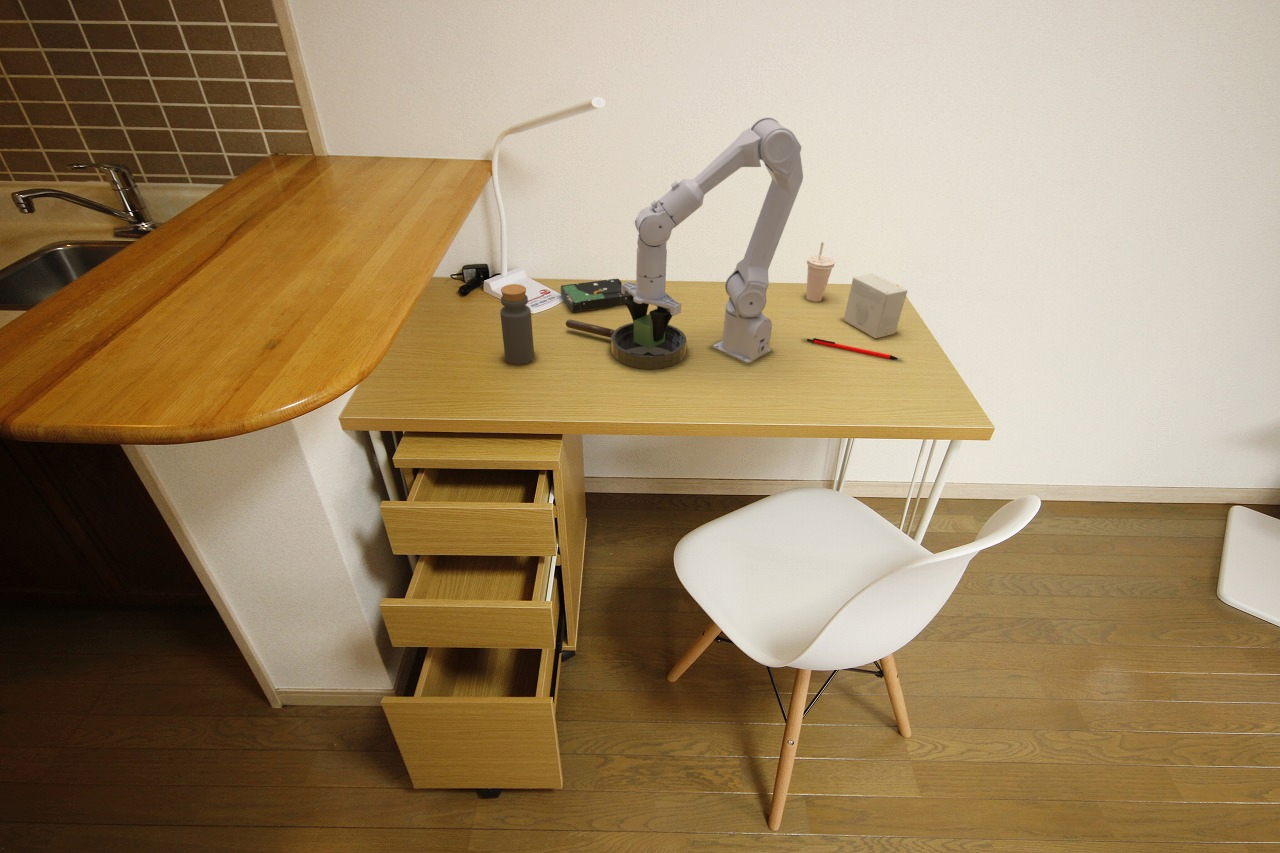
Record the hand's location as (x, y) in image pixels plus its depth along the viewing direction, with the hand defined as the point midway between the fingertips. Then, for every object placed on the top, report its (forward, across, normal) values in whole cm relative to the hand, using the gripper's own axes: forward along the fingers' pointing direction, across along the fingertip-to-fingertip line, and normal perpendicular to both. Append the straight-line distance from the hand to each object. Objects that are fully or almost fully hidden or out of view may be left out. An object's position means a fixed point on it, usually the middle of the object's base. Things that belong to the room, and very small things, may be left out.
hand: (649, 335), depth 134 cm
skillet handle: (+2, -13, -5) cm, 14 cm away
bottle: (+4, -16, -21) cm, 27 cm away
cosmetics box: (+4, +26, +45) cm, 52 cm away
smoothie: (+4, +9, +49) cm, 50 cm away
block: (+1, 0, 0) cm, 1 cm away
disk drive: (+4, -26, +9) cm, 28 cm away
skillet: (+4, 0, 0) cm, 4 cm away
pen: (+4, +29, +32) cm, 43 cm away
